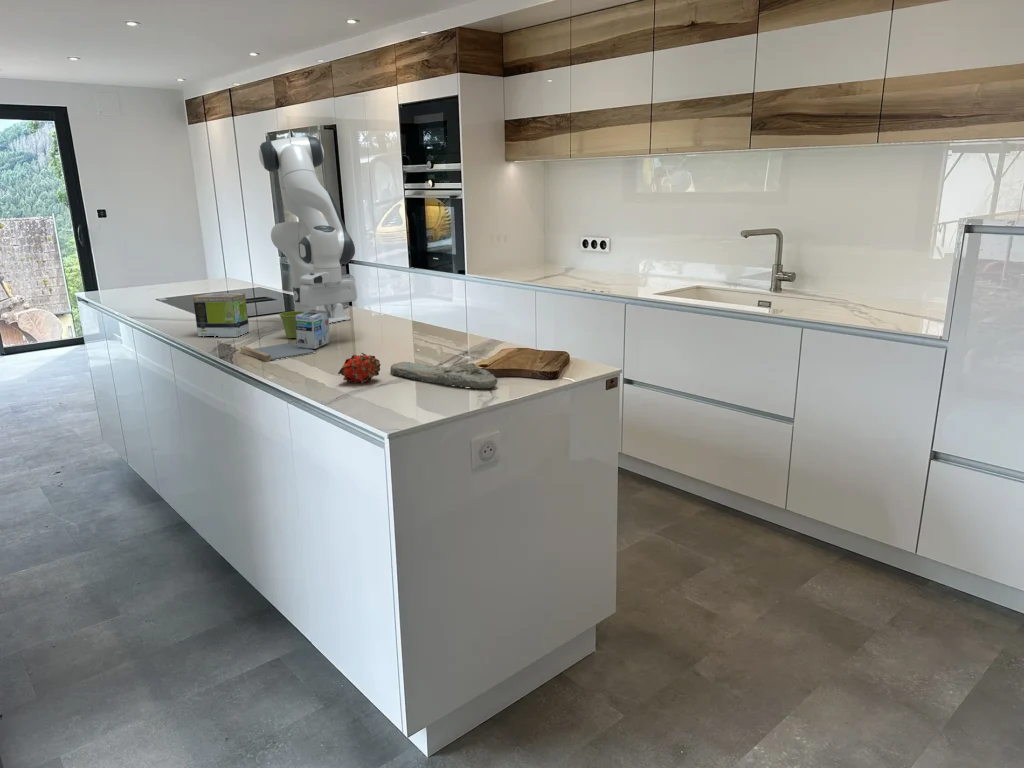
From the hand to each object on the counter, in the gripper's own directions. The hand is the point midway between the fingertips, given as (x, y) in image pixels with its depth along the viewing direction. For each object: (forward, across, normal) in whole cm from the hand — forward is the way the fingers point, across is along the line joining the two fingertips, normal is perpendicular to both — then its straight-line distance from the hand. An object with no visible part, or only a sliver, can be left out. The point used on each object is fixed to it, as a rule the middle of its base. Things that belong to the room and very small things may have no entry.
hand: (330, 317), depth 233 cm
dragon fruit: (+9, +24, +47) cm, 54 cm away
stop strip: (+9, +27, -3) cm, 28 cm away
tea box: (+10, +16, -44) cm, 48 cm away
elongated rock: (+10, +8, +62) cm, 64 cm away
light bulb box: (+9, +7, -1) cm, 11 cm away
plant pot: (+9, +2, -20) cm, 22 cm away
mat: (+9, +18, -2) cm, 20 cm away
